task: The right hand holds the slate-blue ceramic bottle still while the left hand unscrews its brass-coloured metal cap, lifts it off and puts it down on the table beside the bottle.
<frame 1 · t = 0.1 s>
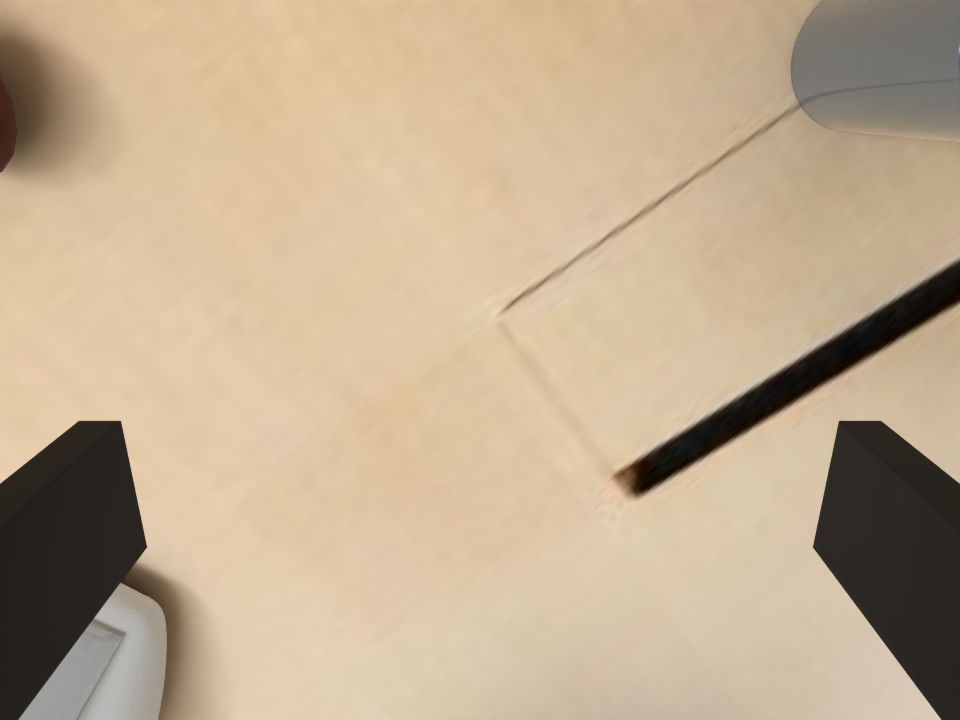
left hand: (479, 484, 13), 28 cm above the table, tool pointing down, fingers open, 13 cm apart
projector: (66, 675, 51), on the table
bottle: (862, 57, 36), on the table
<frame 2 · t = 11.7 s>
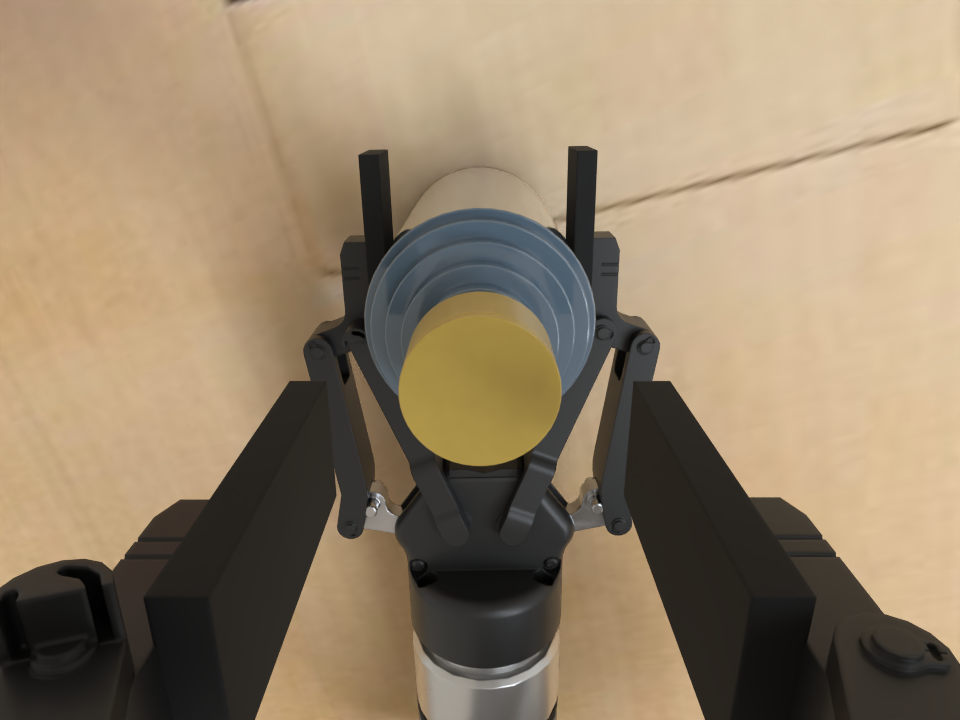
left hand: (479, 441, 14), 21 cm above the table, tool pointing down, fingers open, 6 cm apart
right hand: (477, 151, 27), fingers closed on bottle, 7 cm apart
cap: (480, 389, 17), point 19 cm above the table, screwed on, not yet turned
bottle: (480, 243, 34), on the table, touching right hand
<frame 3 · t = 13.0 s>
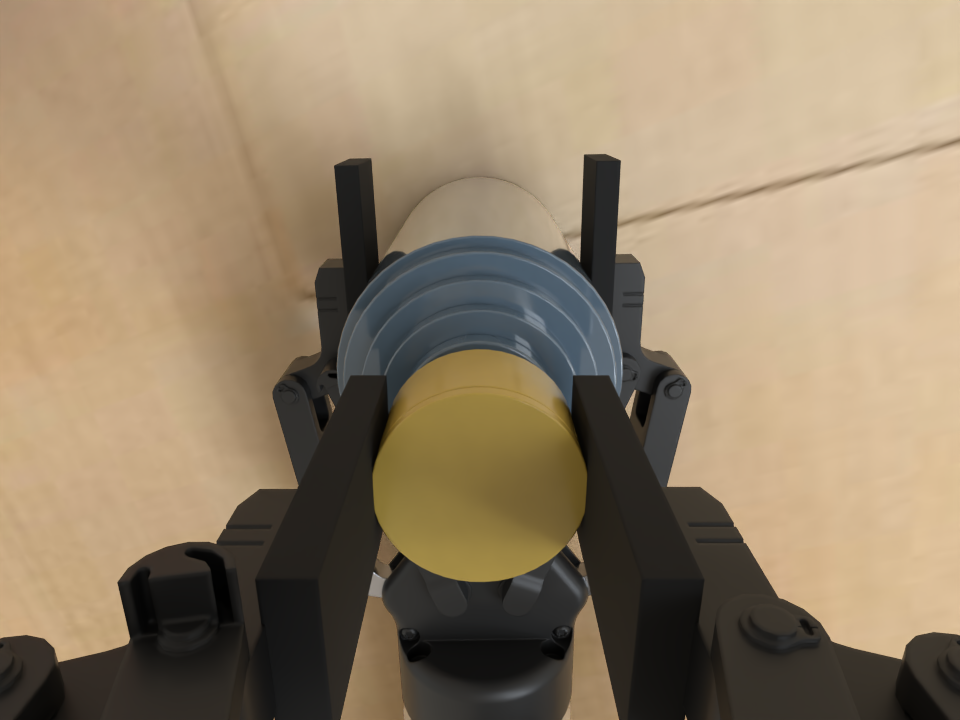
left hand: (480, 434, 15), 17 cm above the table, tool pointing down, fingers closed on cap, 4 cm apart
right hand: (477, 160, 22), fingers closed on bottle, 7 cm apart
cap: (479, 484, 13), point 19 cm above the table, screwed on, not yet turned, touching left hand
bottle: (479, 262, 30), on the table, touching right hand
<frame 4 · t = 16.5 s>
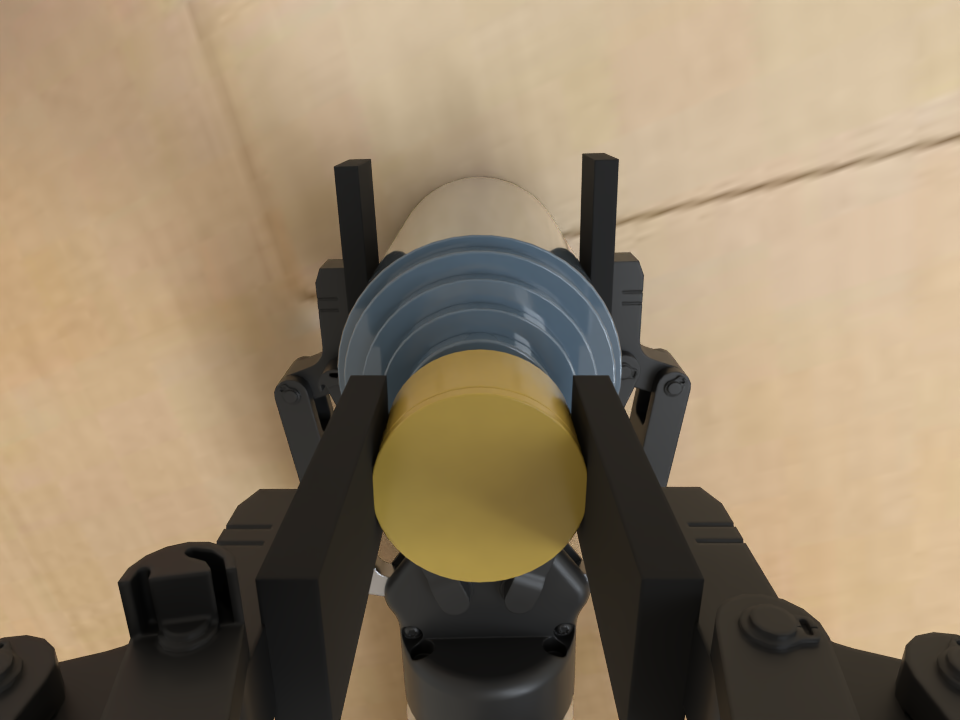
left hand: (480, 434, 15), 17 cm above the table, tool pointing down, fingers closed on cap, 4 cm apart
right hand: (476, 160, 23), fingers closed on bottle, 7 cm apart
cap: (479, 485, 13), point 19 cm above the table, turned 109° so far, risen 0.1 cm, still on its thread, touching left hand
bottle: (479, 262, 30), on the table, touching right hand
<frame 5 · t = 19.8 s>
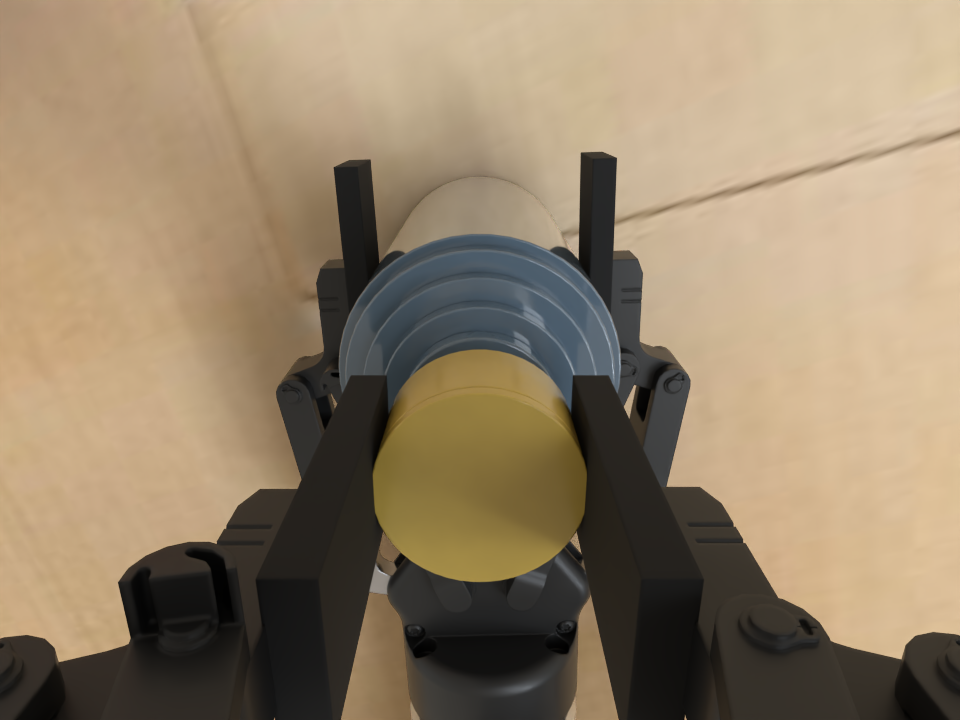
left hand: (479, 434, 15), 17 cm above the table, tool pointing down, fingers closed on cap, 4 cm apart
right hand: (475, 160, 23), fingers closed on bottle, 7 cm apart
cap: (479, 484, 13), point 19 cm above the table, turned 218° so far, risen 0.2 cm, still on its thread, touching left hand
bottle: (479, 261, 31), on the table, touching right hand
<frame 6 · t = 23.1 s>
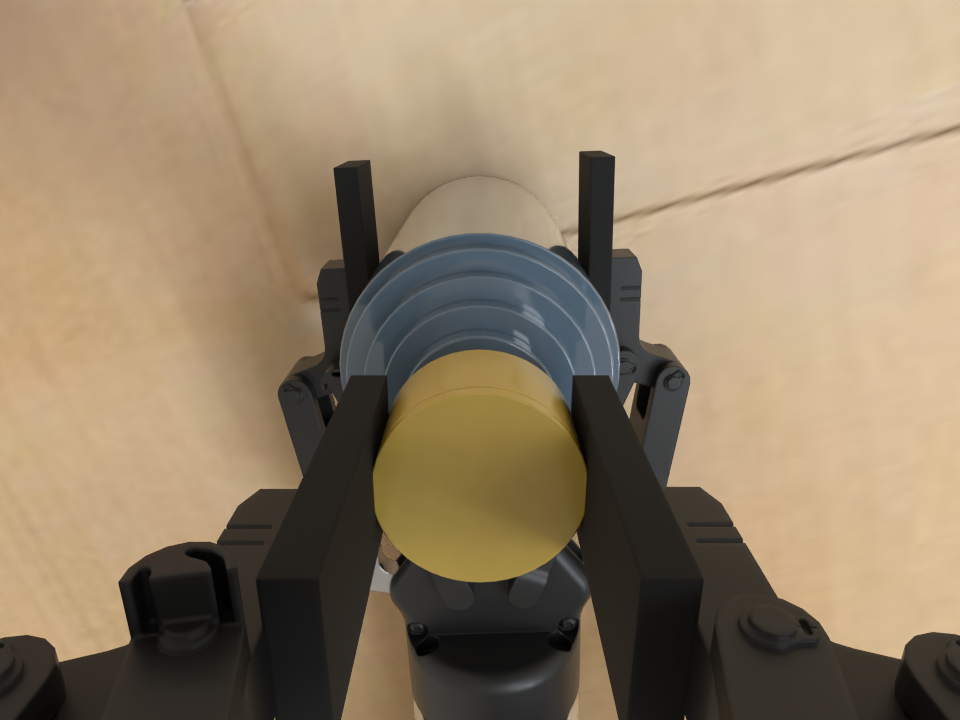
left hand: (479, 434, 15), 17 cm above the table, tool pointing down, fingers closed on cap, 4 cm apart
right hand: (474, 159, 23), fingers closed on bottle, 7 cm apart
cap: (479, 485, 13), point 19 cm above the table, turned 327° so far, risen 0.4 cm, still on its thread, touching left hand
bottle: (479, 261, 31), on the table, touching right hand
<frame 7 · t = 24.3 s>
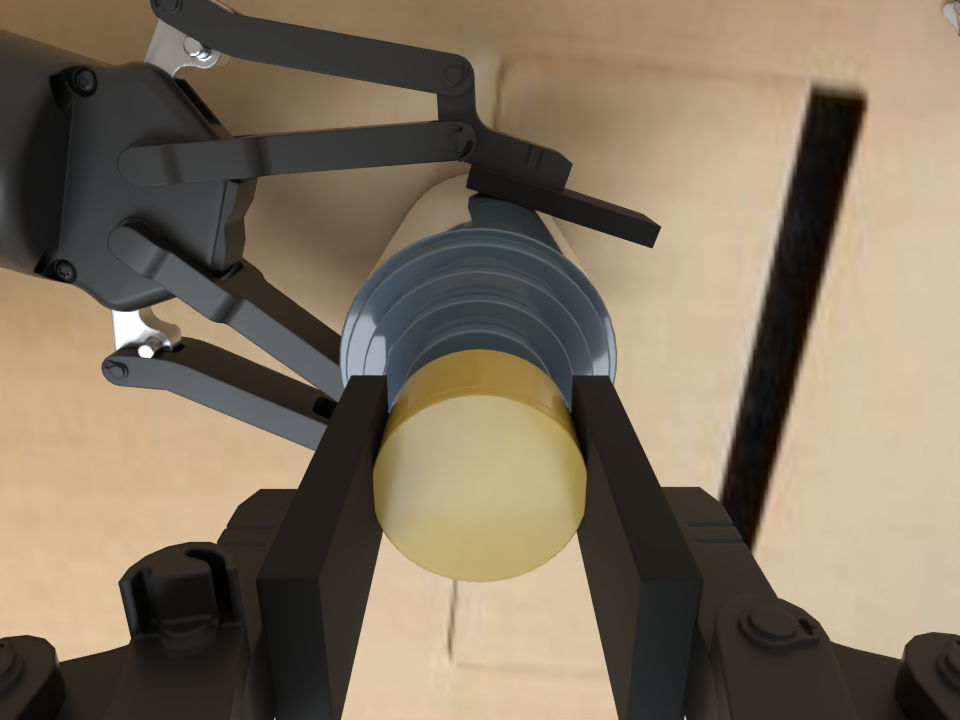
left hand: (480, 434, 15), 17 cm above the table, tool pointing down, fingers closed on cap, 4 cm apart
right hand: (604, 335, 25), fingers closed on bottle, 7 cm apart
cap: (479, 484, 13), point 19 cm above the table, off its thread, touching left hand
bottle: (478, 257, 31), on the table, touching right hand
when the left hand's fingers open (1 cm above the table, at t = 29.3 s): cap drops 1 cm, point 2 cm above the table.
when the right hand's fingers open (7 cm above the table, at t = 30.6 s): bottle stays where it is, on the table.
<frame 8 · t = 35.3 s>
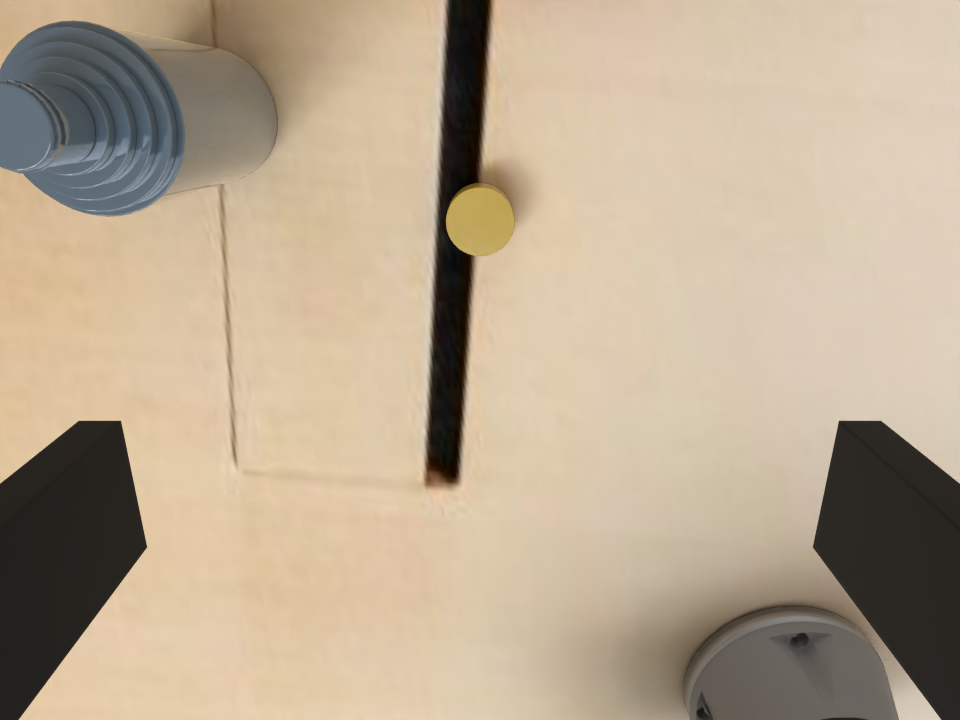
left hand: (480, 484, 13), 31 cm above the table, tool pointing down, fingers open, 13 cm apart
cap: (480, 221, 40), point 2 cm above the table, off its thread
bottle: (214, 116, 40), on the table
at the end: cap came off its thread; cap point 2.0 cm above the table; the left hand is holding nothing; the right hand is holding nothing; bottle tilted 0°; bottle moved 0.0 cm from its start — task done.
